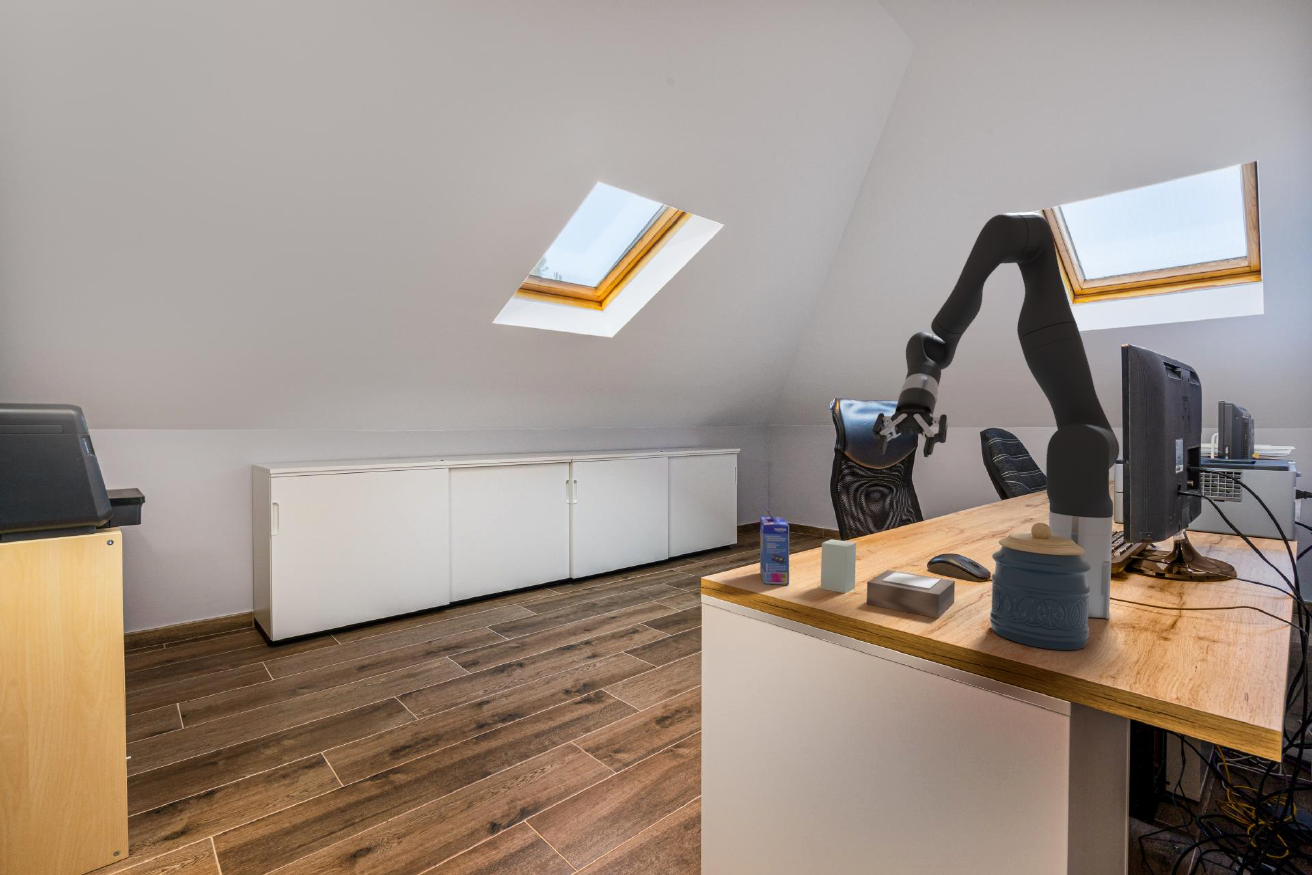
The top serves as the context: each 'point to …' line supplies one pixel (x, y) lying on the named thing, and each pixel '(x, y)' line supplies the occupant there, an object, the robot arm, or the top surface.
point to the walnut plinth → (911, 593)
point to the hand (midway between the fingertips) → (903, 453)
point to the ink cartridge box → (774, 550)
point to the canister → (1041, 590)
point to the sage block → (838, 566)
